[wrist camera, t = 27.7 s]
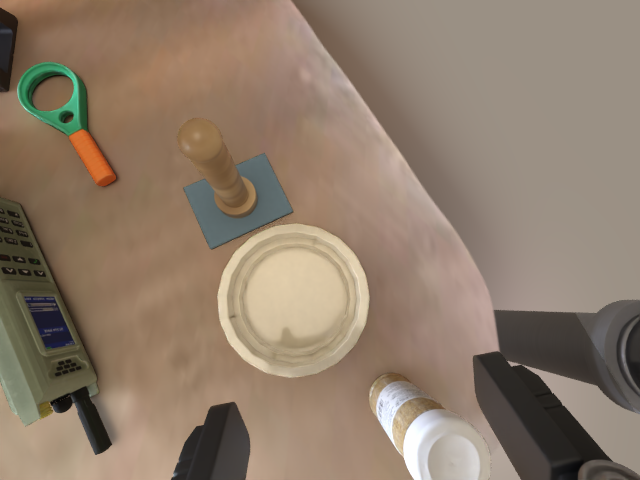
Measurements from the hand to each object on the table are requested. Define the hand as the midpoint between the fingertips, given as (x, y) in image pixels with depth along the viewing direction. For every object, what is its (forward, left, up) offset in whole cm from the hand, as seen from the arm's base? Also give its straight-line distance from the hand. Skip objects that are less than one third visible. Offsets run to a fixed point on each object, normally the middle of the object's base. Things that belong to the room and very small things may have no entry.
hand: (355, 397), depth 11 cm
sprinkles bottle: (-3, +8, -22) cm, 23 cm away
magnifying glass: (+14, -30, -22) cm, 40 cm away
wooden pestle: (+2, -16, -21) cm, 26 cm away
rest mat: (+2, -16, -22) cm, 27 cm away
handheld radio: (+22, -12, -22) cm, 33 cm away
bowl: (+1, -4, -22) cm, 22 cm away
